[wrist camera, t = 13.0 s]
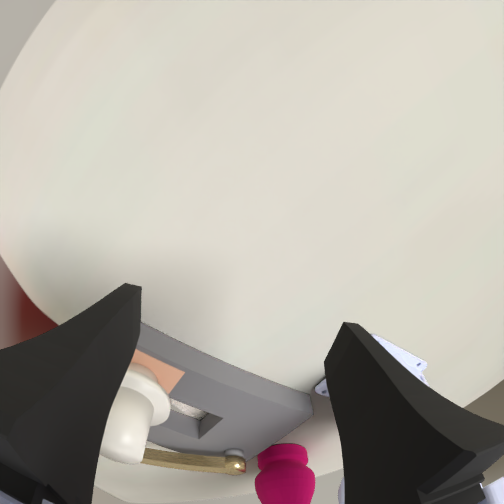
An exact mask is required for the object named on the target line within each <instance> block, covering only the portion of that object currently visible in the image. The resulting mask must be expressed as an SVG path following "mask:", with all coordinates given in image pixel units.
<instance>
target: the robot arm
mask: <svg viewBox="0 0 504 504" xmlns="http://www.w3.org/2000/svg"><path fill="white" fill-rule="evenodd" d="M141 290H142V287H140V286H136V285H131V284H127V283H125V284H123V285H121V286H120V287H118V288H117V289H116V290H114V291H113V292H111V293H110V294H108V295H107V296H105V297H104V298H103V299H101V300H100V301H98V302H97V303H95V304H94V305H92V306H91V307H89V308H88V309H86V310H85V311H83V312H82V313H80V314H78V315H77V316H75V317H73V318H72V319H70V320H68V321H67V322H65V323H63V324H61V325H60V326H58V327H56V328H54V329H52V330H50V331H48V332H46V333H43V334H42V335H39V336H37V337H35V338H32V339H29V340H27V341H24V342H22V343H19V344H16V345H14V346H11V347H7V348H4V349H1V350H0V504H91V503H92V494H93V487H94V480H95V474H96V468H97V462H98V457H99V453H100V448H101V444H102V439H103V435H104V431H105V427H106V423H107V420H108V416H109V413H110V410H111V407H112V404H113V402H114V400H115V397H116V395H117V393H118V390H119V388H120V386H121V383H122V381H123V379H124V376H125V374H126V372H127V369H128V367H129V365H130V363H131V360H132V358H133V355H134V352H135V349H136V346H137V342H138V339H139V336H140V327H141ZM324 367H325V377H326V378H325V379H324V380H323V381H322V382H321V383H320V384H318V385H317V386H316V387H315V392H316V393H318V394H321V395H324V396H327V397H330V401H331V404H332V408H333V412H334V416H335V420H336V424H337V427H338V431H339V436H340V441H341V448H342V457H343V468H344V477H343V479H342V481H341V484H340V487H339V490H338V500H339V504H504V477H501V478H500V479H498V480H496V481H494V482H492V483H490V484H489V485H487V486H485V487H484V488H483V487H482V485H481V482H483V481H484V479H485V478H484V476H483V474H482V473H483V472H484V471H485V470H486V469H488V468H489V467H490V466H491V465H492V464H493V463H495V462H496V461H497V460H498V459H499V458H500V457H501V456H502V455H504V426H503V425H501V424H499V423H496V422H493V421H490V420H487V419H485V418H482V417H480V416H478V415H476V414H473V413H471V412H469V411H467V410H465V409H463V408H461V407H460V406H458V405H456V404H454V403H453V402H451V401H449V400H448V399H446V398H444V397H443V396H441V395H440V394H438V393H437V392H435V391H434V390H433V389H431V388H430V386H429V384H428V383H427V381H426V379H425V377H424V375H423V374H422V371H423V370H424V369H425V368H426V367H427V363H426V362H425V361H423V360H422V359H420V358H418V357H416V356H414V355H412V354H410V353H408V352H407V351H405V350H403V349H401V348H399V347H397V346H395V345H393V344H392V343H390V342H388V341H386V340H384V339H382V338H380V337H379V336H377V335H374V334H373V335H370V334H369V333H368V332H367V331H366V330H365V329H364V328H363V327H361V326H360V325H359V324H356V323H348V322H343V324H342V326H341V328H340V330H339V332H338V334H337V337H336V339H335V341H334V343H333V345H332V347H331V349H330V351H329V353H328V355H327V357H326V359H325V361H324Z"/></svg>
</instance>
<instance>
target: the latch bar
mask: <svg viewBox="0 0 504 504" xmlns="http://www.w3.org/2000/svg"><path fill="white" fill-rule="evenodd" d="M140 463H144V464H149V465H155V466H161V467H168V468H175V469H183V470H191V471H201V472H214V473H226V474H229V475H240V474H243V473H245V472H246V460H245V458H243V457H240V456H227V457H217V456H204V455H193V454H184V453H176V452H168V451H162V450H155V449H149V448H145V450H144V455H143V459H142V461H141V462H140Z"/></svg>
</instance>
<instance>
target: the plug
mask: <svg viewBox="0 0 504 504" xmlns="http://www.w3.org/2000/svg"><path fill="white" fill-rule="evenodd" d="M170 408H171V400H170V397H169V395H168V393H167V392H166V391H165V389H164V388H163V387H162V386H161V385H160V384H158V379H157V377H156V375H155V374H154V373H153V372H152V371H151V370H150V369H149V368H147V367H145V366H143V365H141V364H138V363H133V362H131V363H130V365H129V367H128V369H127V372H126V374H125V376H124V379H123V381H122V383H121V386H120V388H119V390H118V393H117V395H116V397H115V400H114V402H113V404H112V407H111V410H110V413H109V416H108V420H107V423H106V427H105V431H104V435H103V439H102V444H101V448H100V453H99V454H100V455H102V456H104V457H106V458H108V459H111V460H113V461H116V462H120V463H125V464H138V463H140V462H141V461H142V459H143V455H144V450H145V446H146V441H147V437H148V433H149V429H150V426H156V425H159V424H161V423H163V422H165V421H166V420H167V419H168V417H169V413H170Z"/></svg>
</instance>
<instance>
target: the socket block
mask: <svg viewBox="0 0 504 504" xmlns="http://www.w3.org/2000/svg"><path fill="white" fill-rule="evenodd" d="M131 362H133V363H138V364H141V365H143V366H145V367H147V368H149V369H150V370H151V371H152V372H153V373H154V374H155V375H156V377H157V379H158V384H160V385H161V386H162V387H163V388H164V389H165V391H166V392H167V393H168V395H169V397H170V398H172V399H175V400H177V401H179V402H182V403H184V404H187V405H190V406H192V407H195V408H197V409H200V410H203V411H205V412H208V414H207V415H206V416H205V417H204V418H203V419H202V420H201V421H200V420H197V419H195V418H192V417H189V416H187V415H184V414H181V413H179V412H176V411H174V410H171V409H170V413H169V417H168V419H167V420H166V421H165V422H163V423H161V424H159V425H156V426H150V429H149V433H148V437H147V441H150V442H152V443H155V444H157V445H160V446H163V447H165V448H168V449H171V450H174V451H177V452H180V453H184V454H193V455H204V456H217V457H227V456H240V457H243V458H245V460H246V462H247V461H248V460H250V459H251V458H253V457H254V456H256V455H258V454H259V453H261V452H262V451H264V450H265V449H267V448H268V447H270V446H271V445H273V444H274V443H276V442H277V441H278V440H280V439H281V438H283V437H284V436H286V435H287V434H288V433H290V432H291V431H292V430H294V429H295V428H297V427H298V426H299V425H301V424H302V423H303V422H305V421H306V420H307V419H309V418H310V417H311V416H312V415H314V414H313V409H312V404H311V400H310V395H309V394H306V393H303V392H300V391H297V390H294V389H291V388H289V387H286V386H283V385H281V384H278V383H275V382H273V381H270V380H267V379H265V378H262V377H260V376H257V375H255V374H252V373H250V372H247V371H245V370H242V369H240V368H237V367H235V366H233V365H230V364H228V363H226V362H223V361H221V360H219V359H217V358H214V357H212V356H210V355H208V354H205V353H203V352H201V351H199V350H197V349H194V348H192V347H190V346H188V345H186V344H184V343H182V342H180V341H178V340H176V339H174V338H172V337H170V336H168V335H166V334H164V333H162V332H160V331H158V330H156V329H154V328H152V327H150V326H148V325H146V324H144V323H142V322H141V327H140V336H139V339H138V342H137V346H136V349H135V352H134V355H133V358H132V360H131Z"/></svg>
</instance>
